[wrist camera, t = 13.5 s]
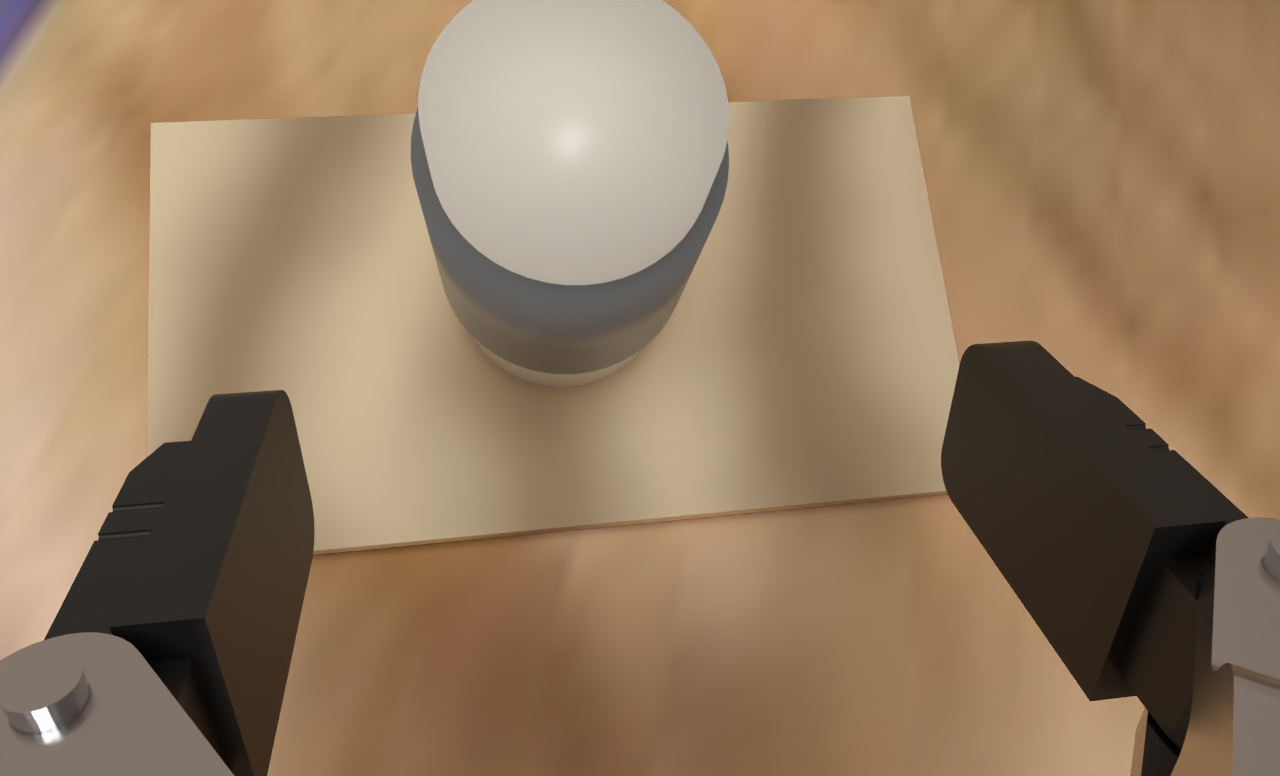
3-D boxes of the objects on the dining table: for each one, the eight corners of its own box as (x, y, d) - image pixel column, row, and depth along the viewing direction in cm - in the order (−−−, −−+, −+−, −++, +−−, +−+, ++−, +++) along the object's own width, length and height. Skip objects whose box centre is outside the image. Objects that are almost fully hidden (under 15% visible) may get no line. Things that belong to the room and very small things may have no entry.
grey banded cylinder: (658, 183, 25) (725, -48, 16) (682, 390, 24) (768, 261, 15) (441, 193, 24) (391, -42, 16) (454, 408, 23) (407, 281, 14)
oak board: (896, 114, 28) (909, 95, 27) (965, 492, 25) (982, 487, 24) (165, 142, 25) (151, 123, 24) (162, 569, 22) (145, 567, 21)
